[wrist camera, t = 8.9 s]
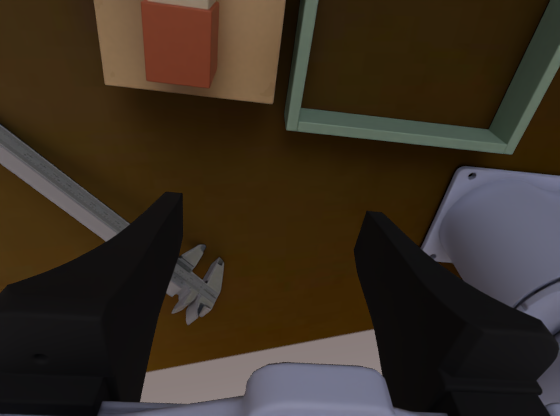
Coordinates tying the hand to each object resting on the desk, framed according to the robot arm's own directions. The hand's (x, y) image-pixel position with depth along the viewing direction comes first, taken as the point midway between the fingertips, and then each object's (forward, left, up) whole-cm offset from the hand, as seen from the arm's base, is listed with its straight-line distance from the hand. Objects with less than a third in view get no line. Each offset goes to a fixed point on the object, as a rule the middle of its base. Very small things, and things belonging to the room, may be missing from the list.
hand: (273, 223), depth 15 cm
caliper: (+11, +5, -10) cm, 15 cm away
